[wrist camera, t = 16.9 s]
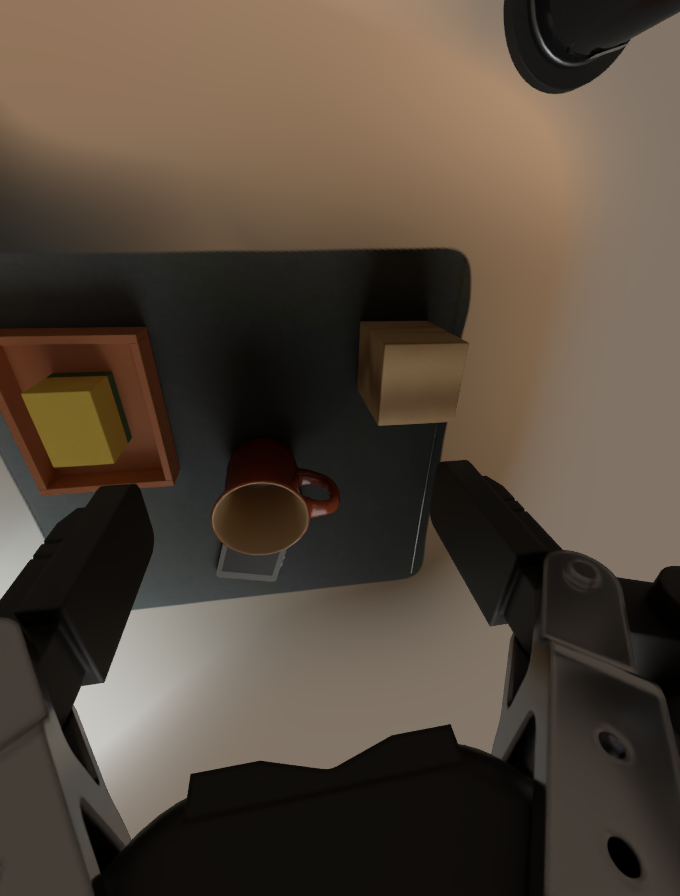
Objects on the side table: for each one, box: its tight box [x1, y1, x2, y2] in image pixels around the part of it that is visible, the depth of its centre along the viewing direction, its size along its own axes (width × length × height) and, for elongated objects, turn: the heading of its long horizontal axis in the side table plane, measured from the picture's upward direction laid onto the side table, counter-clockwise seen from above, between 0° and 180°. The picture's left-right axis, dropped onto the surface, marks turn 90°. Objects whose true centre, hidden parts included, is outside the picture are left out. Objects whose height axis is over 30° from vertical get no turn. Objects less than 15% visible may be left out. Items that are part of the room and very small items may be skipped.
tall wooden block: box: [357, 321, 469, 426], centre depth 34 cm, size 7×7×9 cm
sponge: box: [21, 371, 132, 468], centre depth 33 cm, size 7×5×5 cm
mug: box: [211, 437, 340, 555], centre depth 37 cm, size 12×9×10 cm
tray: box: [0, 327, 180, 495], centre depth 34 cm, size 15×12×3 cm
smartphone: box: [216, 544, 287, 582], centre depth 46 cm, size 15×8×1 cm, turn 162°
